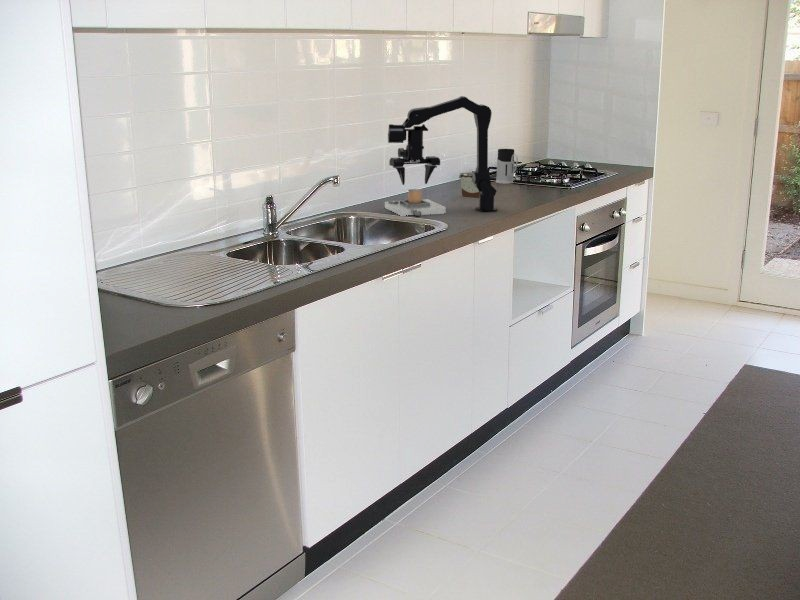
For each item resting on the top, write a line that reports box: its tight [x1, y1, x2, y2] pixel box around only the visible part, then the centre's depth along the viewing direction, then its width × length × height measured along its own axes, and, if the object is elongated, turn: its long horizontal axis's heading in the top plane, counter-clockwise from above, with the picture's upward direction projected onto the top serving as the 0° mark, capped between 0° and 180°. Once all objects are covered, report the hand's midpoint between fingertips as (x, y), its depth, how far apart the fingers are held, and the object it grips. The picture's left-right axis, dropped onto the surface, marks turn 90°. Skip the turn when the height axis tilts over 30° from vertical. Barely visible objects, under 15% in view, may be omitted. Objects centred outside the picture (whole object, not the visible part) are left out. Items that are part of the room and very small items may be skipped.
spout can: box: [407, 188, 422, 204], centre depth 339 cm, size 7×5×8 cm
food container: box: [458, 171, 480, 200], centre depth 368 cm, size 12×6×10 cm, turn 59°
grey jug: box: [495, 148, 519, 185], centre depth 405 cm, size 9×14×15 cm, turn 25°
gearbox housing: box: [384, 198, 447, 217], centre depth 337 cm, size 21×18×4 cm
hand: (414, 184), depth 336 cm, fingers open, 9 cm apart
